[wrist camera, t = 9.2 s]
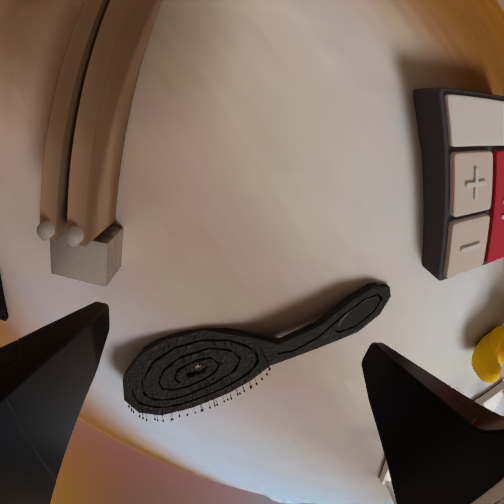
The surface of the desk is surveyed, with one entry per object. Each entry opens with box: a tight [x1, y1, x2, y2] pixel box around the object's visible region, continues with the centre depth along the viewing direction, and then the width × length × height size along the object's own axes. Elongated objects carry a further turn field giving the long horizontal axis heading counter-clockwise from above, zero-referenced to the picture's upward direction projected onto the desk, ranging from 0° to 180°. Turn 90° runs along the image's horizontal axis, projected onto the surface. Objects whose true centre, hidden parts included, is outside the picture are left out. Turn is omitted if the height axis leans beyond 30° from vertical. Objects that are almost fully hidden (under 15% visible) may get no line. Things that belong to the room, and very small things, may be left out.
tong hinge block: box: [50, 226, 123, 287], centre depth 18 cm, size 4×3×3 cm
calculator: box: [413, 88, 504, 280], centre depth 19 cm, size 11×4×15 cm
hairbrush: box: [123, 283, 391, 422], centre depth 23 cm, size 8×4×25 cm
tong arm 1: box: [65, 0, 161, 247], centre depth 13 cm, size 1×19×6 cm, turn 168°
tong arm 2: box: [37, 0, 110, 241], centre depth 13 cm, size 1×19×6 cm, turn 167°
